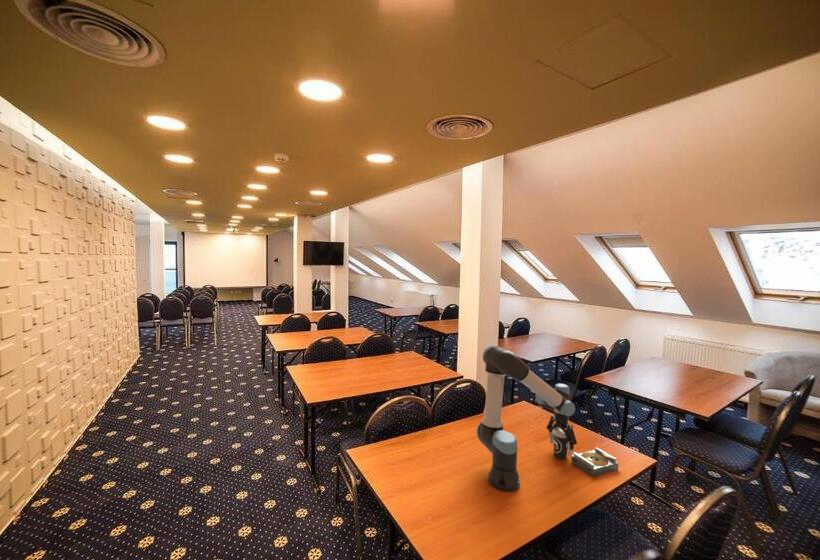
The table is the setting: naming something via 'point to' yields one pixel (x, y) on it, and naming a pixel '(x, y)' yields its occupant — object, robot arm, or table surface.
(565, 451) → the coffee cup
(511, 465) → the robot arm
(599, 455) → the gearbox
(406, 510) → the table surface
